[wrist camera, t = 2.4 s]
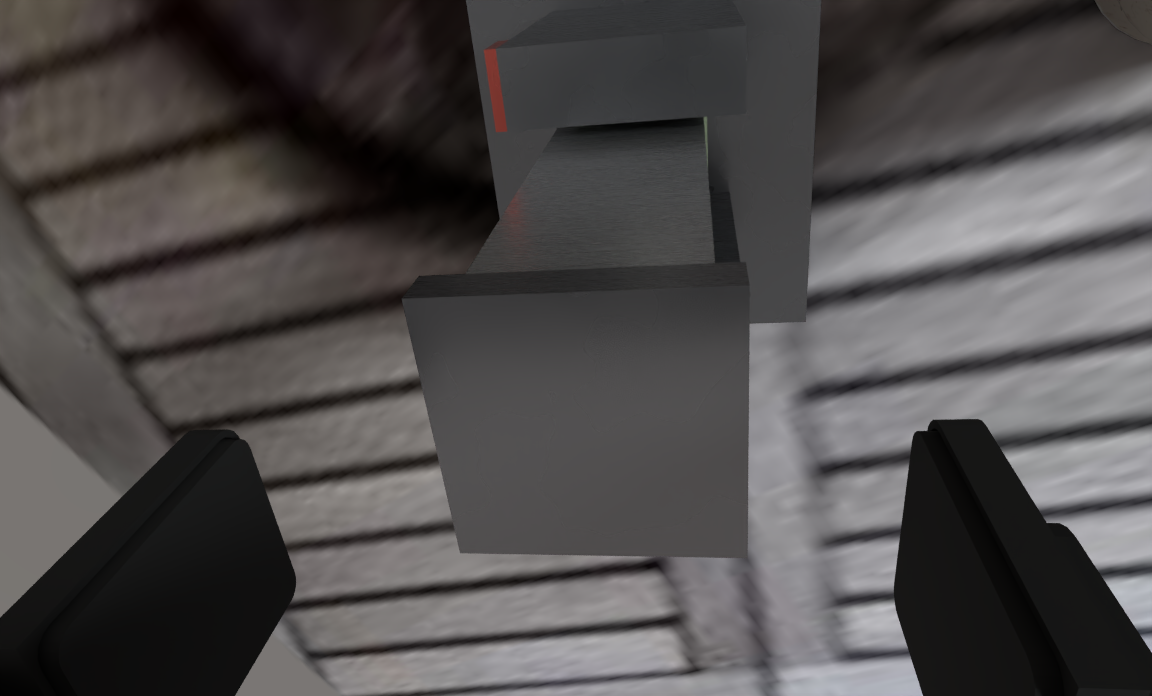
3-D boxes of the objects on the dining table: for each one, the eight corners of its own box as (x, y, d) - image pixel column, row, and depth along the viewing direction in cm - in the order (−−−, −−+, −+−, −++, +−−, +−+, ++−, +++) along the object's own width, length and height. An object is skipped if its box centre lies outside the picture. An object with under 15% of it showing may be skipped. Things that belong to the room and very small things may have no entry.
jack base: (472, -97, 28) (344, -107, 17) (813, -139, 26) (898, -179, 16) (529, 300, 35) (463, 458, 25) (796, 290, 33) (845, 456, 23)
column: (574, 71, 27) (401, 299, 11) (711, 60, 26) (750, 285, 10) (586, 202, 29) (460, 553, 13) (713, 195, 29) (747, 558, 12)
